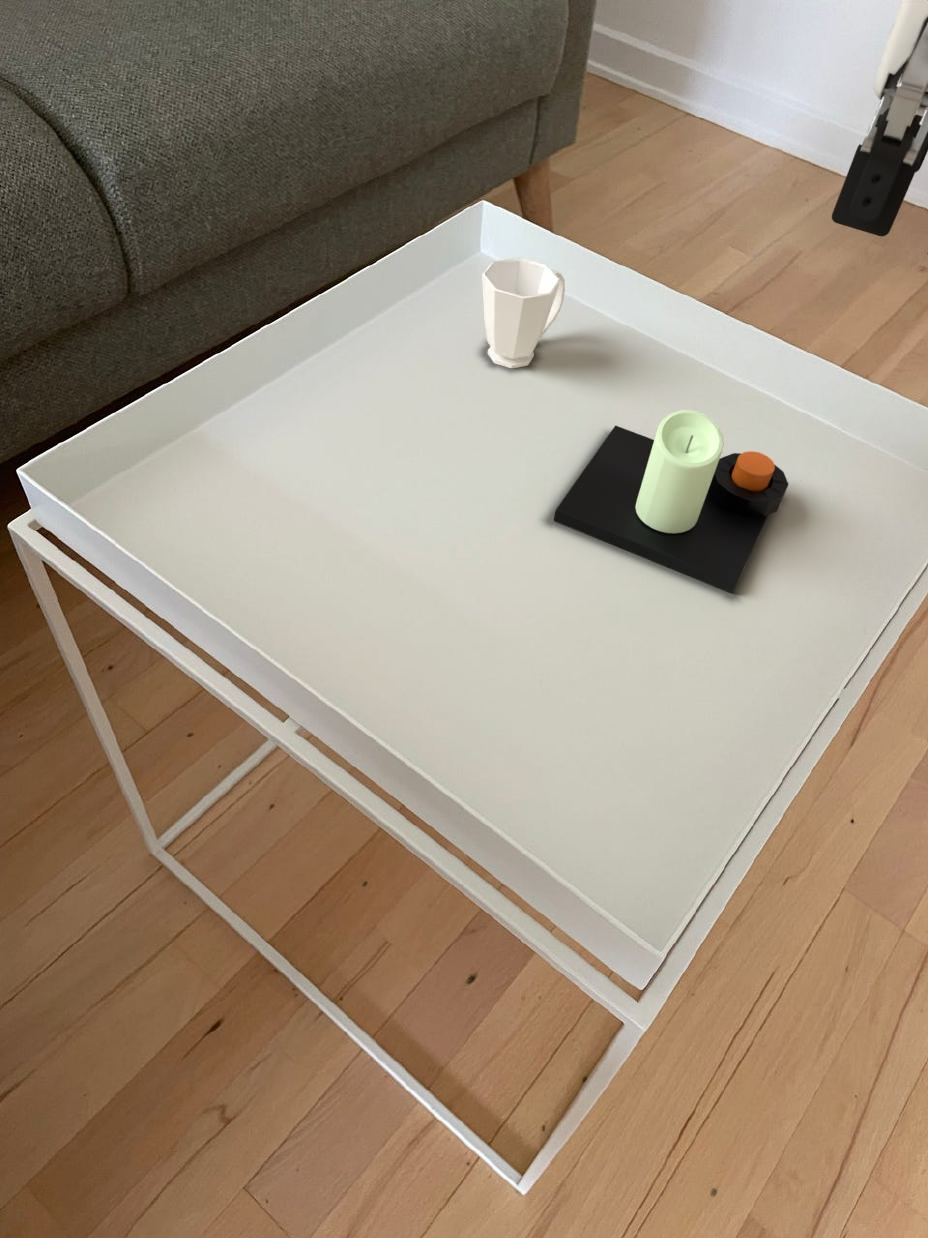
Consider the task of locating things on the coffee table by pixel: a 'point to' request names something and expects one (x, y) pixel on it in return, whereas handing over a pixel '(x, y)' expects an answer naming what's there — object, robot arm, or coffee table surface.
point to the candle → (679, 471)
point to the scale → (700, 552)
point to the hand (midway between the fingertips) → (876, 194)
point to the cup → (519, 308)
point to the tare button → (753, 471)
